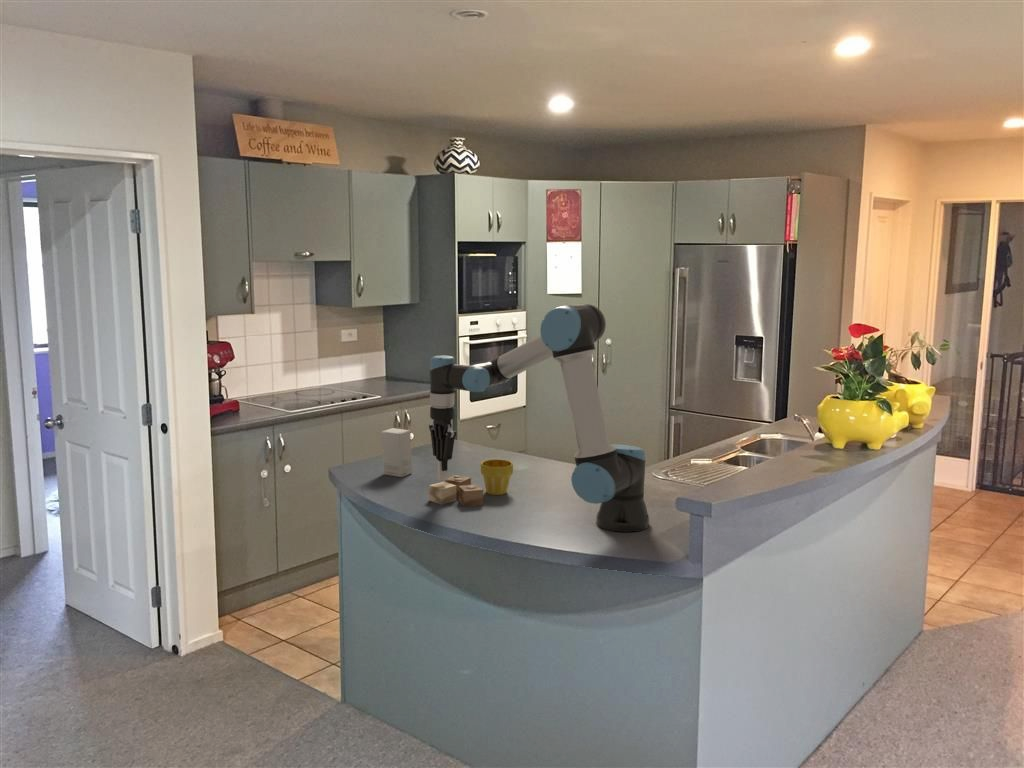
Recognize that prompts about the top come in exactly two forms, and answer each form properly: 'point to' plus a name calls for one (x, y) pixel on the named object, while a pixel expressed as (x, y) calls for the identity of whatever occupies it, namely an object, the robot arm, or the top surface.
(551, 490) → the top surface
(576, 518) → the top surface
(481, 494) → the marked block
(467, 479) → the marked block
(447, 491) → the plain block
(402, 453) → the skincare box
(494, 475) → the plant pot
